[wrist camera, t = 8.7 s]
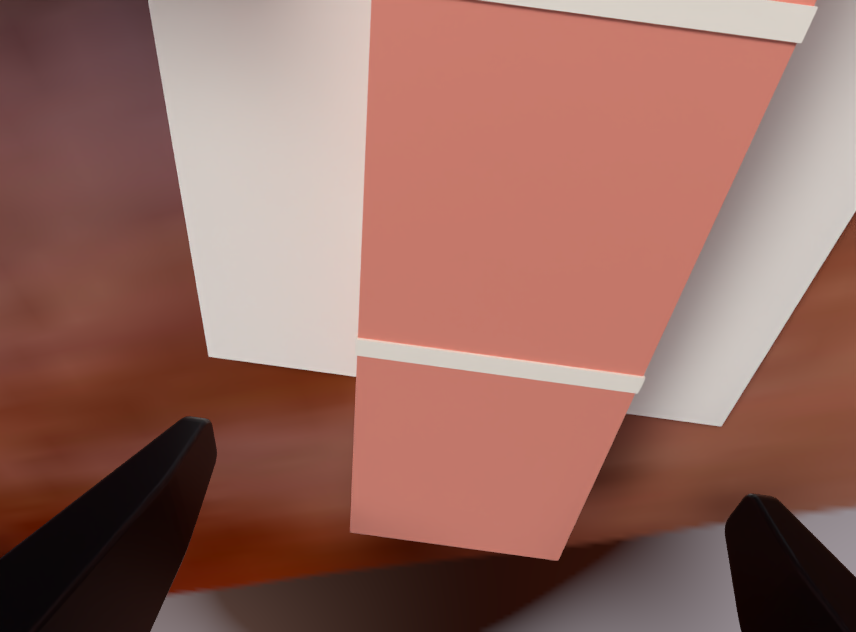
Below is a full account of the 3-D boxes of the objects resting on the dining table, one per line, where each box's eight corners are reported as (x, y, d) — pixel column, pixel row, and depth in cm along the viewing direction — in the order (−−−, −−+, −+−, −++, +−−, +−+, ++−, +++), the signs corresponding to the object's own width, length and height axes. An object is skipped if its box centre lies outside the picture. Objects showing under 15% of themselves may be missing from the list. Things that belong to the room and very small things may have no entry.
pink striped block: (544, 423, 14) (559, 562, 11) (377, 400, 14) (348, 534, 11) (899, -622, 5) (1396, -1231, 2) (456, -679, 5) (420, -1356, 2)
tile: (713, 407, 14) (720, 426, 13) (218, 340, 14) (208, 356, 13) (1148, -328, 6) (1202, -346, 6) (94, -468, 6) (63, -497, 6)
